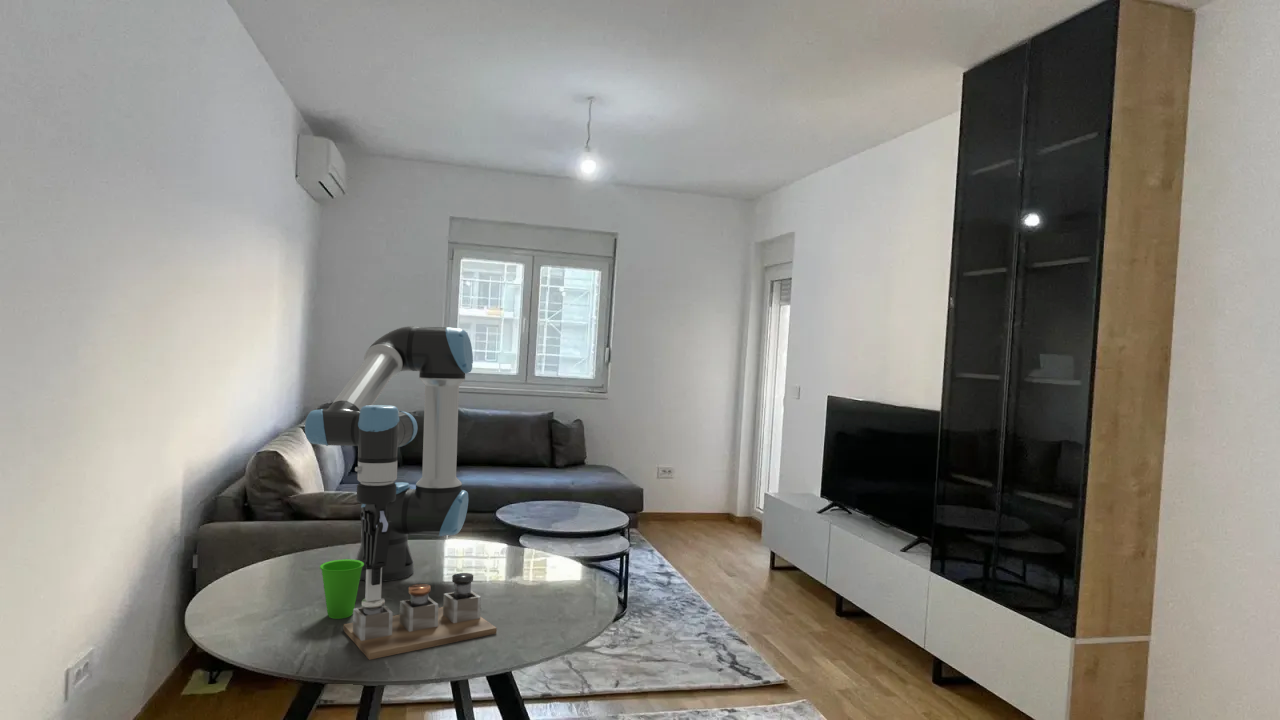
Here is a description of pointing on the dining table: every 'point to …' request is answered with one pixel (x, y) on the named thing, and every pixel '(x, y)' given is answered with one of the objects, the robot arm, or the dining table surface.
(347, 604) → the cup
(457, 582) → the black plunger
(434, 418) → the robot arm
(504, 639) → the dining table surface
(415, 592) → the copper domed cylinder
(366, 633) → the panel
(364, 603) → the offwhite plunger
